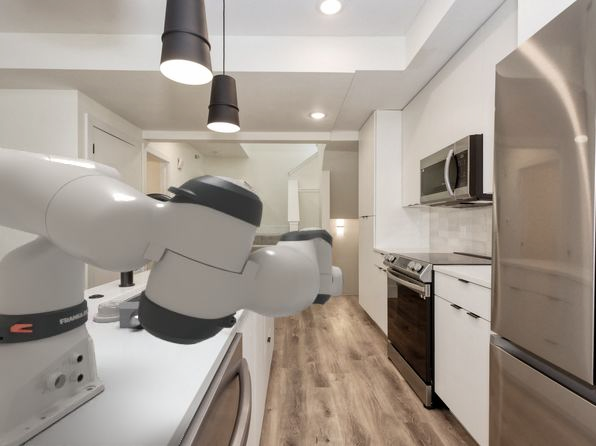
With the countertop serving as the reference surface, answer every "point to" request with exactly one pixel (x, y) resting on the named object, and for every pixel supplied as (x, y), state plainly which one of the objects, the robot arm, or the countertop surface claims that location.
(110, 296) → the countertop surface
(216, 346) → the countertop surface
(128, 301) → the motor
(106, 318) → the mechanical component
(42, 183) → the robot arm
